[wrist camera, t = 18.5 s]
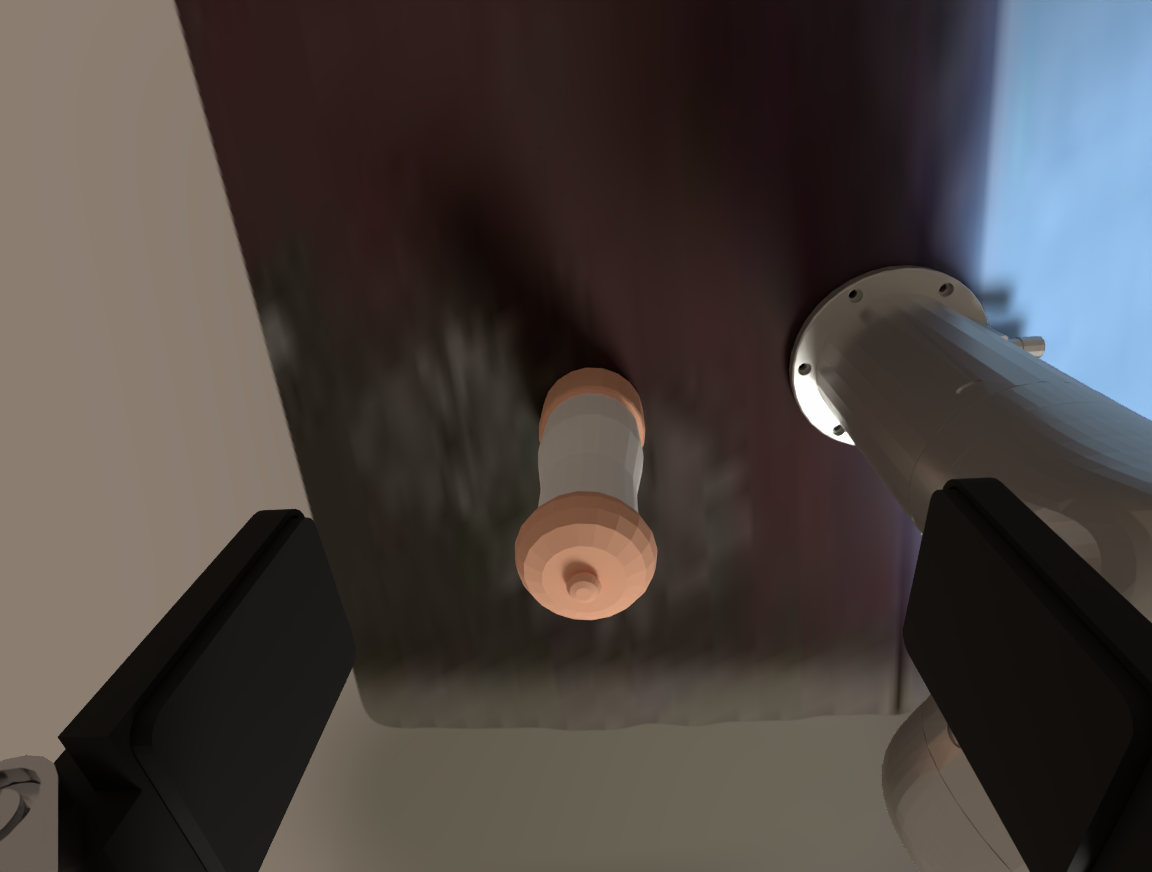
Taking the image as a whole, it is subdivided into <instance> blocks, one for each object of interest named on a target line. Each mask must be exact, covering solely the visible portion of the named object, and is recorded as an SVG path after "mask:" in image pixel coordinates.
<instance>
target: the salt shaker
mask: <svg viewBox="0 0 1152 872" xmlns="http://www.w3.org/2000/svg"><path fill="white" fill-rule="evenodd" d="M644 438H645V424H644V415H643V408H642V404H641V401H640V397H639V394H638V393H637V392H636V390H635V389H634V387H633V386H632V384H631V383H630V382H629V381H627V380H626V379H625V378H623V377H622V376H621V375H619V374H618V373H615V372H612V371H609V370H606V369H603V368H583V369H579V370H575V371H572V372H570V373H568V374H566V375H565V376H563V377H562V378H560V379H559V380H557V382H556V383H555V384H554V385H553V386H552V388H551V389H550V390H549V391H548V394H547V397H546V399H545V402H544V405H543V410H542V414H541V419H540V423H539V441H540V447H539V451H538V468H539V478H540V487H541V493H540V499H539V505H538V508H537V509H536V510H535V511H534V513H533V514H532V515H531V516H530V517H529V518H528V519H527V520H526V522H525V523H524V524H523V525H522V526H521V529H520V531H519V534H518V537H517V539H516V542H515V561H516V567H517V571H518V573H519V575H520V578H521V580H522V582H523V585H524V587H525V588H526V589H527V590H528V591H529V592H530V593H531V594H532V595H533V597H534V598H535V599H536V600H537V601H538V602H539V603H540V604H541V605H542V606H544V607H546V608H547V609H549V610H551V611H552V612H554V613H556V614H558V615H562V616H565V617H569V618H572V619H583V620H595V619H600V618H605V617H610V616H612V615H614V614H616V613H618V612H621V611H623V610H625V609H626V608H628V607H629V606H630V605H631V604H632V603H633V602H634V601H636V600H637V599H638V598H639V597H640V596H641V595H642V594H643V593H644V592H645V591H646V589H647V587H648V585H649V583H650V581H651V579H652V577H653V575H654V571H655V568H656V559H657V547H656V543H655V540H654V537H653V533H652V531H651V530H650V528H649V527H648V526H647V524H646V523H645V522H644V520H643V519H642V518H641V516H640V515H639V514H638V507H637V493H638V488H639V483H640V479H641V474H642V466H643V451H642V447H643V445H644Z"/></svg>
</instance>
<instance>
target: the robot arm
mask: <svg viewBox="0 0 1152 872" xmlns="http://www.w3.org/2000/svg"><path fill="white" fill-rule="evenodd" d="M942 285H943V288H942V289H941V290H939V289H940V287H941V286H942ZM853 290H854V291H855V292H854V294H853V295H852V296H849V294H850V292H852V291H853ZM1044 351H1045V342H1044V339H1043V338H1042V337H1041V336H1031V337H1016V338H1015V339H1008V337H1007V336H1006V335H1004V334H1002V333H1000V332H999V331H997V330H995V329H993V328H991V327H990V326H989V323H988V319H987V316H986V314H985V311H984V309H983V307H982V304H981V303H980V302H979V300H978V299H977V298H976V296H975V295H974V294H973V292H972V291H971V290H970V289H968V288H967V287H966V286H965V285H964V284H962V283H961V282H960V281H959V280H957V279H955V278H953V277H951V276H949V275H947V274H945V273H942V272H940V271H937V270H934V269H931V268H928V267H920V266H912V265H902V266H889V267H885V268H881V269H877V270H873V271H869V272H867V273H864V274H862V275H860V276H858V277H855V278H853V279H851V280H849V281H847V282H846V283H844V284H843V285H841V286H840V287H838V288H837V289H835V290H834V291H832V292H831V293H830V294H829V295H828V296H827V297H826V298H824V299H823V300H822V301H821V302H820V303H819V304H818V305H817V306H816V307H815V309H814V310H813V311H812V312H811V314H810V315H809V316H808V317H807V319H806V320H805V322H804V324H803V326H802V327H801V329H800V331H799V333H798V335H797V337H796V340H795V343H794V346H793V349H792V351H791V357H790V365H789V376H790V386H791V389H792V393H793V396H794V399H795V401H796V403H797V404H798V406H799V408H800V410H801V412H802V413H803V414H804V416H805V417H806V418H807V420H808V421H809V422H810V423H811V424H812V425H813V426H814V427H815V428H817V429H818V430H819V431H820V432H821V433H823V434H825V435H826V436H828V437H830V438H832V439H834V440H836V441H839V442H843V443H846V444H849V445H855V446H857V448H858V449H859V450H860V452H861V453H862V455H863V456H864V457H865V459H866V460H867V461H868V463H869V464H870V465H871V467H872V468H873V469H874V471H875V472H876V473H877V475H878V476H879V477H880V479H881V480H882V481H883V483H884V484H885V485H886V487H887V488H888V489H889V491H890V492H891V493H892V495H893V496H894V497H895V499H896V500H897V501H898V503H899V504H900V505H901V507H902V508H903V509H904V511H905V512H906V514H907V515H908V516H909V518H910V519H911V520H912V522H913V523H914V524H915V526H916V527H917V528H918V530H919V531H920V532H921V534H922V535H923V536H922V541H921V546H920V551H919V555H918V560H917V565H916V569H915V574H914V579H913V584H912V588H911V593H910V598H909V603H908V607H907V612H906V617H905V622H904V627H903V637H904V643H905V646H906V649H907V651H908V654H909V656H910V657H911V659H912V661H913V663H914V665H915V666H916V668H917V670H918V672H919V674H920V675H921V677H922V679H923V681H924V683H925V684H926V686H927V688H928V690H929V691H930V693H931V695H930V696H929V697H928V698H927V700H926V701H924V702H923V703H922V704H921V705H920V706H919V707H918V708H917V709H916V710H915V711H914V712H913V713H912V714H911V715H910V716H909V718H908V719H907V720H906V721H905V722H904V723H903V724H902V725H901V727H900V728H899V729H898V731H897V732H896V733H895V735H894V736H893V738H892V740H891V742H890V744H889V746H888V748H887V750H886V753H885V756H884V760H883V765H882V790H883V796H884V799H885V803H886V807H887V810H888V813H889V816H890V819H891V821H892V824H893V826H894V828H895V830H896V832H897V834H898V836H899V838H900V840H901V842H902V844H903V846H904V848H905V849H906V851H907V853H908V854H909V856H910V857H911V859H912V860H913V862H914V864H915V865H916V867H917V868H918V870H919V871H920V872H1152V421H1151V420H1149V419H1147V418H1145V417H1143V416H1141V415H1139V414H1138V413H1136V412H1134V411H1132V410H1130V409H1129V408H1127V407H1125V406H1123V405H1121V404H1119V403H1118V402H1116V401H1114V400H1112V399H1111V398H1109V397H1107V396H1105V395H1104V394H1102V393H1100V392H1098V391H1096V390H1094V389H1092V388H1090V387H1088V386H1087V385H1085V384H1083V383H1081V382H1080V381H1078V380H1076V379H1074V378H1073V377H1071V376H1069V375H1067V374H1066V373H1064V372H1062V371H1060V370H1058V369H1057V368H1055V367H1053V366H1051V365H1050V364H1048V363H1046V362H1044V361H1043V360H1041V359H1039V358H1040V357H1041V356H1042V355H1043V353H1044ZM804 363H805V365H804V366H803V367H801V368H799V366H800V365H801V364H804ZM837 425H838V426H837ZM835 426H837V427H835ZM355 654H356V647H355V641H354V638H353V635H352V632H351V629H350V626H349V623H348V620H347V617H346V614H345V611H344V608H343V605H342V602H341V599H340V596H339V593H338V590H337V587H336V584H335V581H334V578H333V575H332V572H331V569H330V566H329V563H328V560H327V558H326V555H325V552H324V549H323V546H322V543H321V540H320V537H319V534H318V531H317V528H316V525H315V523H314V521H313V520H312V519H311V518H305V517H304V515H303V513H302V512H301V511H300V510H297V509H285V510H263V511H259V512H257V513H256V514H254V515H253V516H252V518H250V520H249V521H248V522H247V523H246V524H245V525H244V527H243V528H242V529H241V530H240V531H239V532H238V533H237V534H236V536H235V537H234V538H233V539H232V540H231V541H230V542H229V543H228V545H227V546H226V547H225V548H224V549H223V550H222V551H221V552H220V554H219V555H218V556H217V557H216V558H215V559H214V560H213V562H212V563H211V564H210V565H209V566H208V567H207V569H206V570H205V571H204V572H203V573H202V574H201V575H200V576H199V577H198V579H197V580H196V581H195V582H194V583H193V584H192V585H191V587H190V588H189V589H188V590H187V591H186V592H185V593H184V594H183V596H182V597H181V598H180V599H179V600H178V601H177V602H176V604H175V605H174V606H173V607H172V608H171V609H170V610H169V612H168V613H167V614H166V615H165V616H164V617H163V618H162V619H161V621H160V622H159V623H158V624H157V625H156V626H155V627H154V628H153V630H152V631H151V632H150V633H149V634H148V635H147V636H146V638H145V639H144V640H143V641H142V642H141V643H140V644H139V645H138V647H137V648H136V649H135V650H134V651H133V652H132V653H131V655H130V656H129V657H128V658H127V659H126V660H125V661H124V663H123V664H122V665H121V666H120V667H119V668H118V669H117V670H116V672H115V673H114V674H113V675H112V676H111V677H110V678H109V679H108V681H107V682H106V683H105V684H104V685H103V686H102V688H101V689H100V690H99V691H98V692H97V693H96V694H95V695H94V697H93V698H92V699H91V700H90V701H89V702H88V703H87V705H86V706H85V707H84V708H83V709H82V710H81V711H80V712H79V714H78V715H77V716H76V717H75V718H74V719H73V720H72V722H71V723H70V724H69V725H68V726H67V727H66V728H65V729H64V731H63V732H62V733H61V734H60V735H59V736H58V738H59V740H60V741H61V742H62V744H63V745H64V747H65V748H66V749H65V751H64V752H63V753H62V754H61V755H60V756H59V758H58V759H57V760H56V761H55V762H54V763H52V762H51V761H49V760H48V759H46V758H44V757H40V756H28V755H26V756H21V757H16V758H11V759H7V760H3V761H1V762H0V872H258V871H259V869H260V867H261V865H262V863H263V860H264V858H265V856H266V854H267V852H268V849H269V847H270V845H271V843H272V841H273V838H274V837H275V834H276V832H277V830H278V828H279V826H280V824H281V821H282V819H283V817H284V815H285V813H286V810H287V808H288V806H289V804H290V802H291V800H292V797H293V795H294V793H295V791H296V789H297V787H298V784H299V782H300V780H301V778H302V776H303V774H304V771H305V769H306V767H307V765H308V763H309V761H310V758H311V756H312V754H313V752H314V750H315V748H316V745H317V743H318V741H319V739H320V737H321V735H322V732H323V730H324V728H325V725H326V724H327V722H328V719H329V717H330V715H331V713H332V711H333V708H334V706H335V704H336V702H337V700H338V698H339V696H340V693H341V691H342V689H343V687H344V684H345V683H346V680H347V678H348V676H349V674H350V672H351V669H352V667H353V664H354V661H355Z"/></svg>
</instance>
